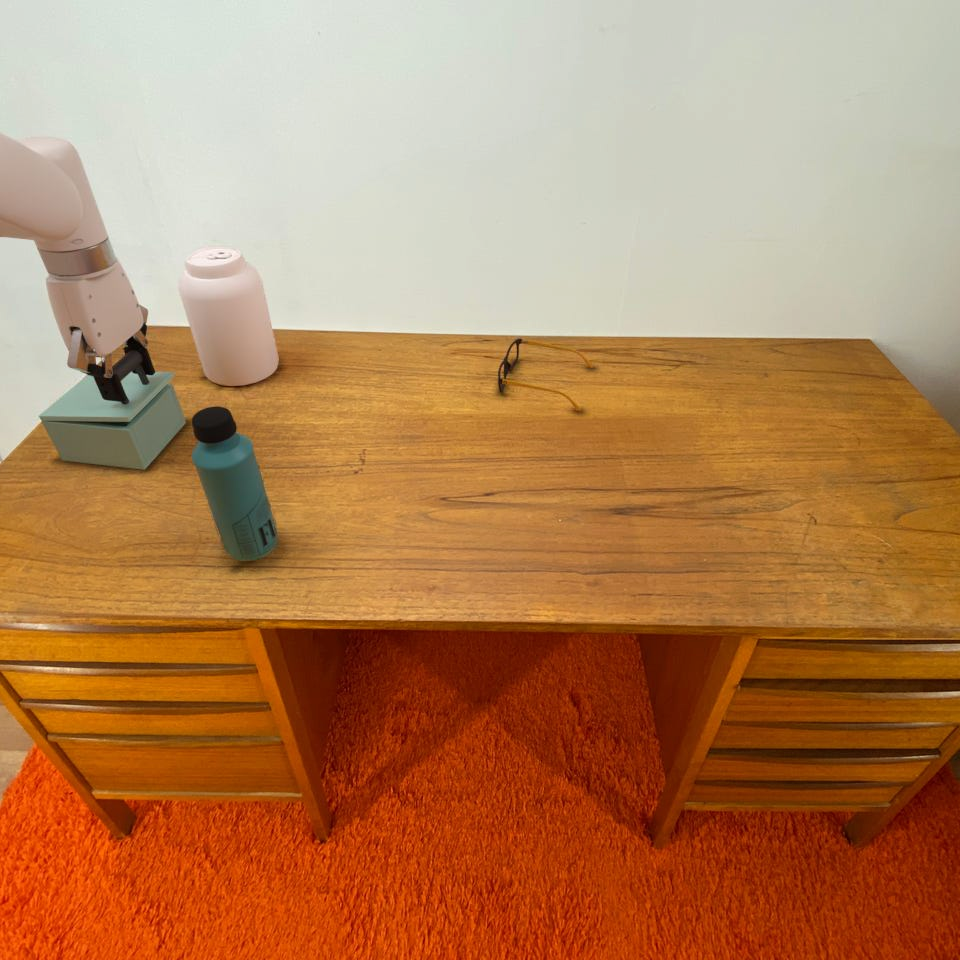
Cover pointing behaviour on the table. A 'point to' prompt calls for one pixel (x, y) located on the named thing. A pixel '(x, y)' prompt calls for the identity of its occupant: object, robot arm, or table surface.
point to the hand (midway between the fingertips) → (130, 385)
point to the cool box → (121, 435)
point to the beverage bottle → (233, 485)
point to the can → (228, 316)
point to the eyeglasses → (503, 381)
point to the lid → (92, 407)
